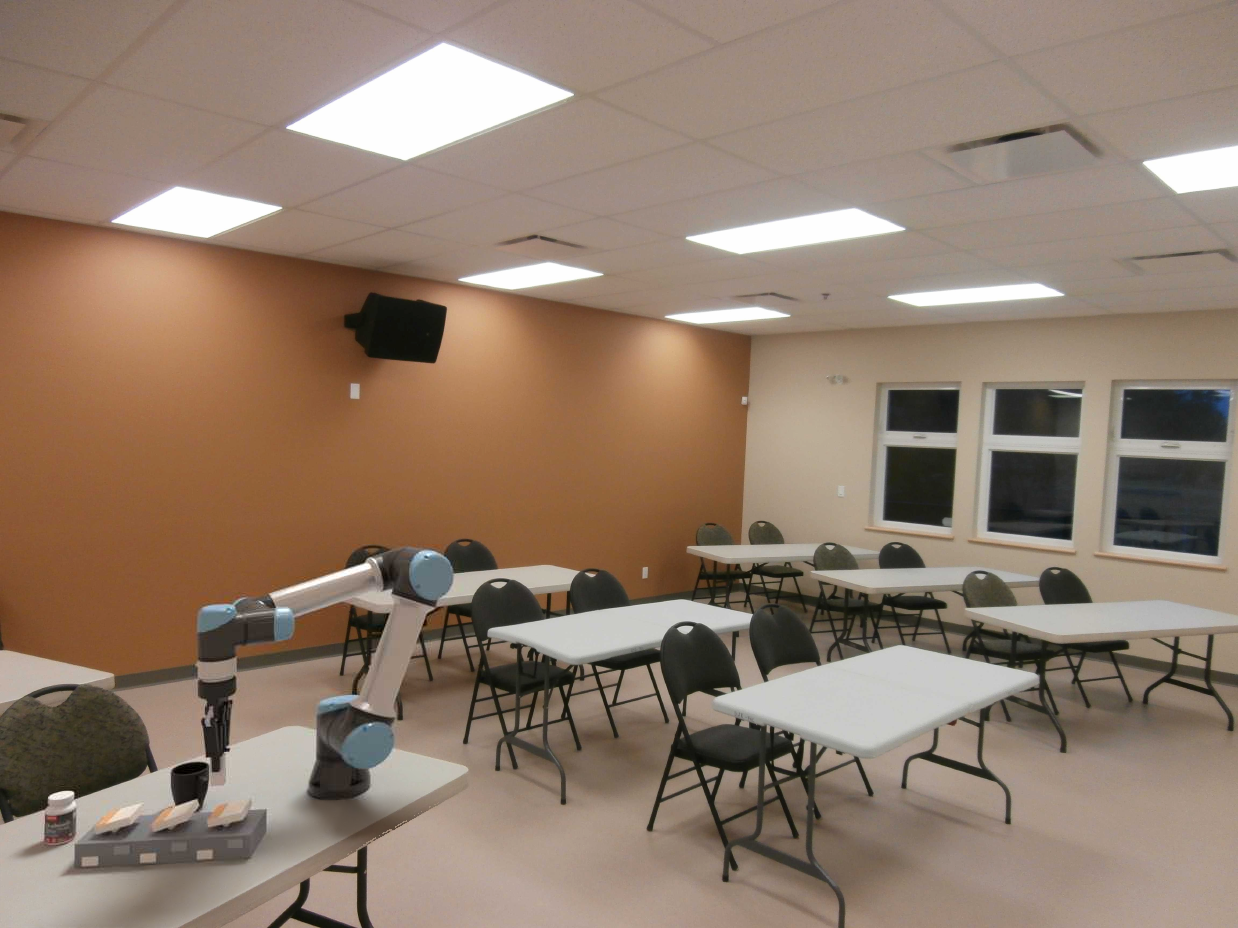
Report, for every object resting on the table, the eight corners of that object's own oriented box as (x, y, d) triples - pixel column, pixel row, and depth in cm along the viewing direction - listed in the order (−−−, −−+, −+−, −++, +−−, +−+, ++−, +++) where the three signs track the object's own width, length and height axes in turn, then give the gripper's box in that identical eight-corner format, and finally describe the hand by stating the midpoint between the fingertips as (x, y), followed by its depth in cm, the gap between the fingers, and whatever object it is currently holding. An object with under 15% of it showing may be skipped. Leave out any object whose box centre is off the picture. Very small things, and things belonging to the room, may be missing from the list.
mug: (185, 823, 181) (186, 782, 180) (164, 807, 188) (164, 768, 188) (222, 811, 187) (222, 771, 187) (200, 796, 195) (200, 758, 194)
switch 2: (200, 808, 173) (196, 798, 173) (188, 823, 166) (184, 812, 166) (168, 820, 172) (164, 809, 172) (154, 835, 165) (150, 824, 165)
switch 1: (146, 812, 172) (143, 801, 171) (132, 827, 165) (129, 816, 164) (112, 822, 170) (109, 811, 170) (96, 837, 164) (93, 826, 163)
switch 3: (252, 808, 175) (250, 797, 175) (243, 823, 168) (241, 812, 168) (219, 815, 174) (217, 804, 174) (208, 830, 167) (206, 819, 167)
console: (266, 830, 178) (266, 806, 178) (250, 858, 166) (250, 832, 166) (102, 839, 172) (103, 814, 172) (73, 869, 160) (74, 842, 160)
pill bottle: (41, 848, 168) (42, 802, 168) (46, 836, 173) (47, 792, 173) (74, 842, 171) (74, 797, 171) (78, 831, 176) (78, 787, 176)
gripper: (209, 669, 176) (210, 772, 177) (187, 687, 163) (188, 798, 164) (244, 667, 177) (245, 770, 178) (225, 685, 164) (226, 796, 165)
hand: (218, 783), depth 171 cm, fingers closed
